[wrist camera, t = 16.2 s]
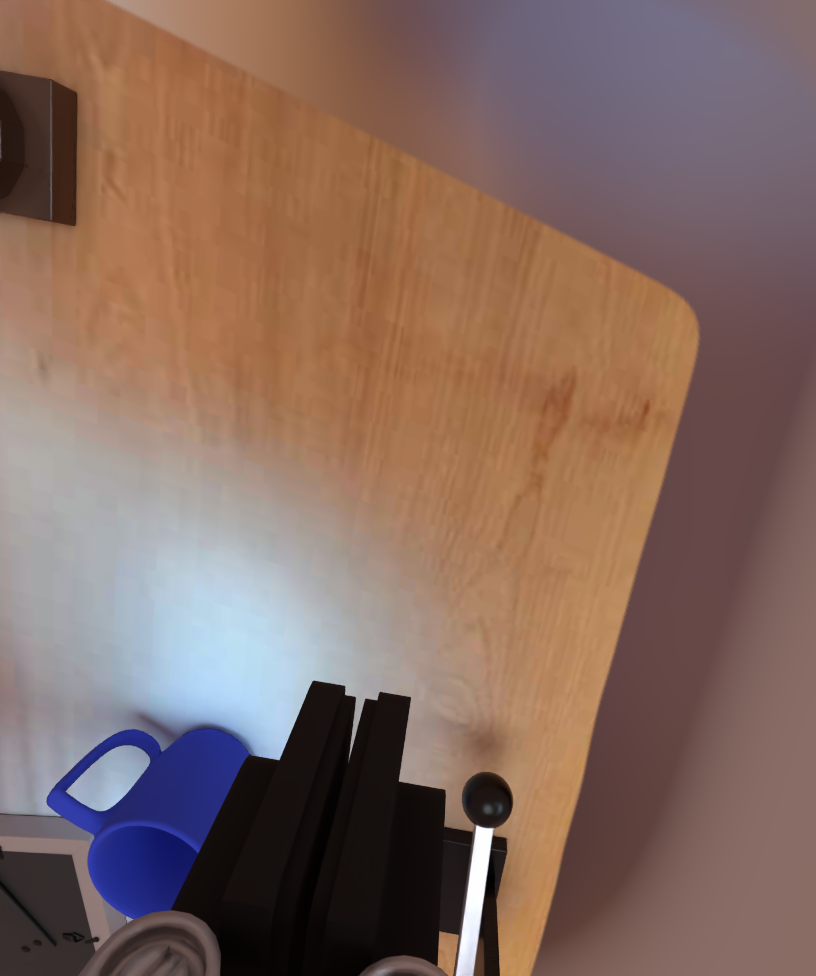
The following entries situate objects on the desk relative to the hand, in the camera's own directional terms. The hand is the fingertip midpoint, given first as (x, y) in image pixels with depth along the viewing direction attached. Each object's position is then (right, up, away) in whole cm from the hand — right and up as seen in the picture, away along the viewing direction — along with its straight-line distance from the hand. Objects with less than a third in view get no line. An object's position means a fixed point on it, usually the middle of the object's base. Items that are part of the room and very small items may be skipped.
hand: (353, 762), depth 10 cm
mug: (-15, -15, +37) cm, 43 cm away
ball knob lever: (+5, -22, +30) cm, 37 cm away
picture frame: (-31, -32, +43) cm, 62 cm away
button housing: (-23, +24, +25) cm, 42 cm away
